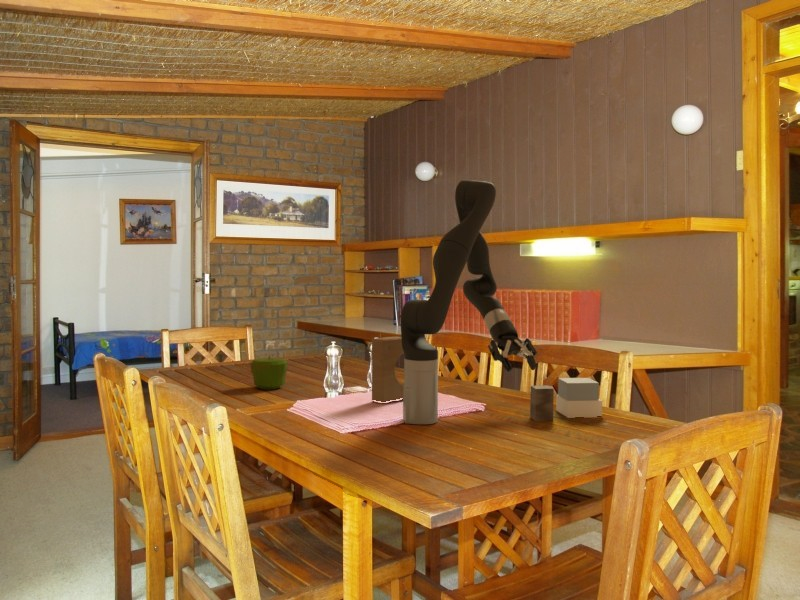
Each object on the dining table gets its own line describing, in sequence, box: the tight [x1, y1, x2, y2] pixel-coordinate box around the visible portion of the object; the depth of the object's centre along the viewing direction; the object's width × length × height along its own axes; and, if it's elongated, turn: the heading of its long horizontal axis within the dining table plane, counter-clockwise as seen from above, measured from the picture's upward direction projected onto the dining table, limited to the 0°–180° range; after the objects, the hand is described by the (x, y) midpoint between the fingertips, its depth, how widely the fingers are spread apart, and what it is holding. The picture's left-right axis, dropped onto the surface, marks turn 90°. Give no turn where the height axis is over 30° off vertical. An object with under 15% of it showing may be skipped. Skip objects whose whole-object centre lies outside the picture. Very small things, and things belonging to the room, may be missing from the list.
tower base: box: [555, 394, 603, 419], centre depth 196 cm, size 10×10×5 cm
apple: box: [250, 356, 288, 391], centre depth 237 cm, size 12×12×11 cm
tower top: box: [557, 377, 600, 401], centre depth 196 cm, size 9×9×5 cm
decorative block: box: [371, 335, 404, 402], centre depth 214 cm, size 11×6×20 cm, turn 135°
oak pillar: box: [529, 385, 554, 422], centre depth 188 cm, size 5×5×9 cm
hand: (522, 369), depth 196 cm, fingers open, 8 cm apart
